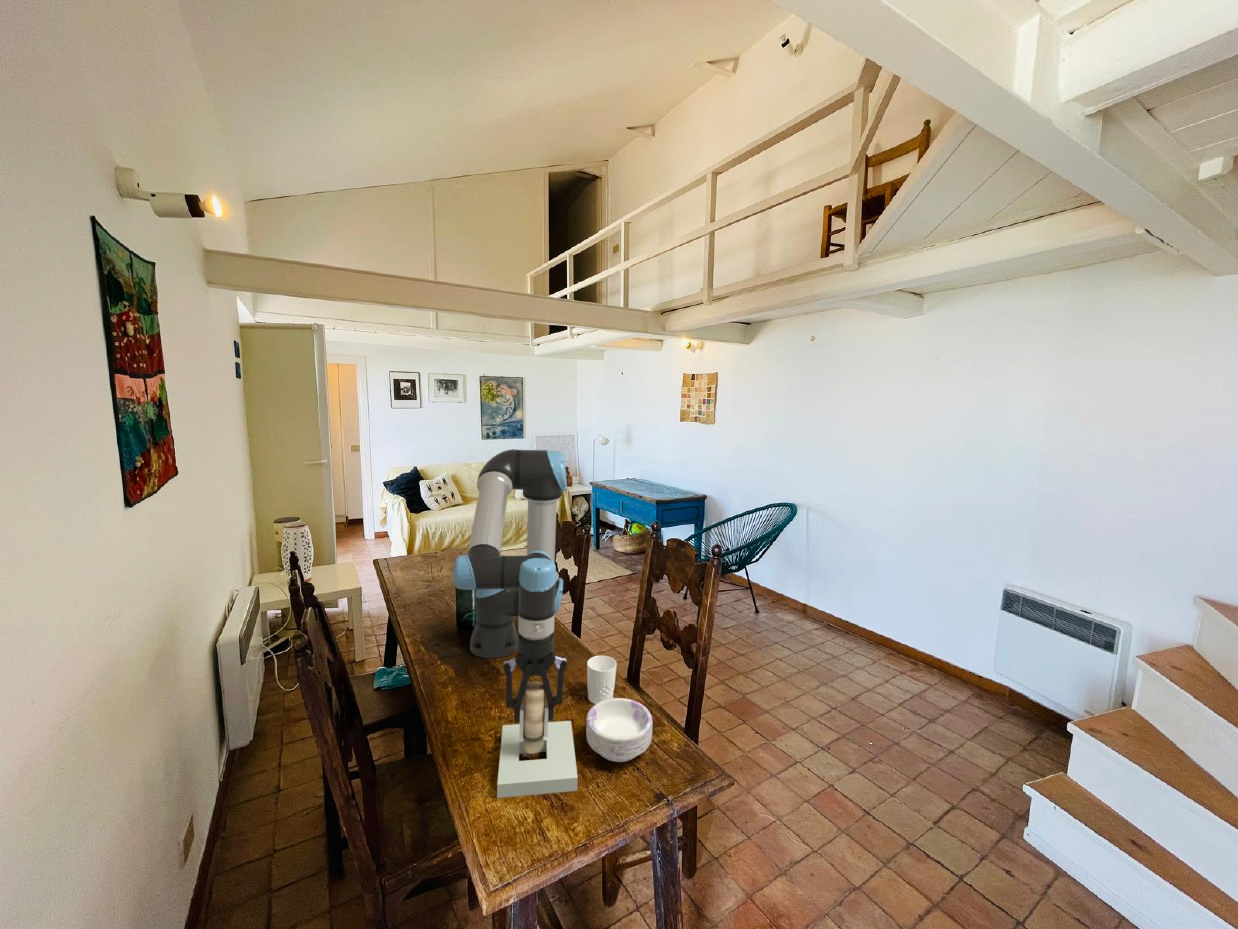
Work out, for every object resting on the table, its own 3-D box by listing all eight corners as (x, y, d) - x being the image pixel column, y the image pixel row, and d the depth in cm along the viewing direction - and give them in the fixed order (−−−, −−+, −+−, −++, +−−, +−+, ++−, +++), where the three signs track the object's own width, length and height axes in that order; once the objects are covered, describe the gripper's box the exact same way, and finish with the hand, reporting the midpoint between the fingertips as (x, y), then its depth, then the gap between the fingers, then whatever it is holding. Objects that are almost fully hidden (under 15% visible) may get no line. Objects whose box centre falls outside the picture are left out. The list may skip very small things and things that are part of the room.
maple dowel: (522, 740, 110) (524, 681, 108) (543, 739, 110) (545, 680, 108) (522, 755, 105) (523, 694, 103) (544, 753, 106) (545, 693, 104)
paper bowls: (574, 737, 117) (575, 706, 116) (629, 719, 124) (631, 690, 123) (604, 782, 104) (606, 747, 103) (663, 759, 111) (665, 727, 110)
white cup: (601, 685, 138) (602, 652, 137) (620, 698, 133) (622, 664, 132) (579, 696, 133) (581, 662, 132) (599, 710, 127) (601, 674, 126)
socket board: (502, 737, 116) (502, 725, 115) (570, 732, 119) (571, 720, 118) (497, 798, 98) (497, 784, 98) (577, 790, 101) (577, 777, 101)
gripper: (492, 642, 99) (490, 749, 102) (579, 639, 102) (575, 742, 105) (494, 626, 106) (493, 725, 109) (576, 623, 110) (572, 720, 113)
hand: (533, 733), depth 107 cm, fingers closed on maple dowel, 4 cm apart
